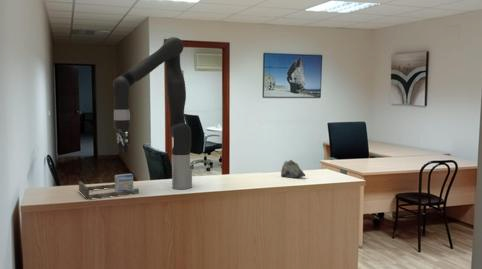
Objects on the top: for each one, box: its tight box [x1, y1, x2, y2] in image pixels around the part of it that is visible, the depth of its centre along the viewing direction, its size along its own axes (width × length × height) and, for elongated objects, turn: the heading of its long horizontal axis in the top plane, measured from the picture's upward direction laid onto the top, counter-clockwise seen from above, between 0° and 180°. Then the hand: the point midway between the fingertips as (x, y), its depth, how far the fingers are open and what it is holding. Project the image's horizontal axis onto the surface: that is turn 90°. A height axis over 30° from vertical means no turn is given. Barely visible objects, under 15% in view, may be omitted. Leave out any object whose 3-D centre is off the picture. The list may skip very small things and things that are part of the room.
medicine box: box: [114, 173, 134, 192], centre depth 217 cm, size 8×4×9 cm, turn 124°
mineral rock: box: [280, 159, 306, 179], centre depth 253 cm, size 13×11×10 cm
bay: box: [78, 181, 140, 200], centre depth 216 cm, size 24×19×5 cm
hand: (123, 152), depth 216 cm, fingers open, 8 cm apart
